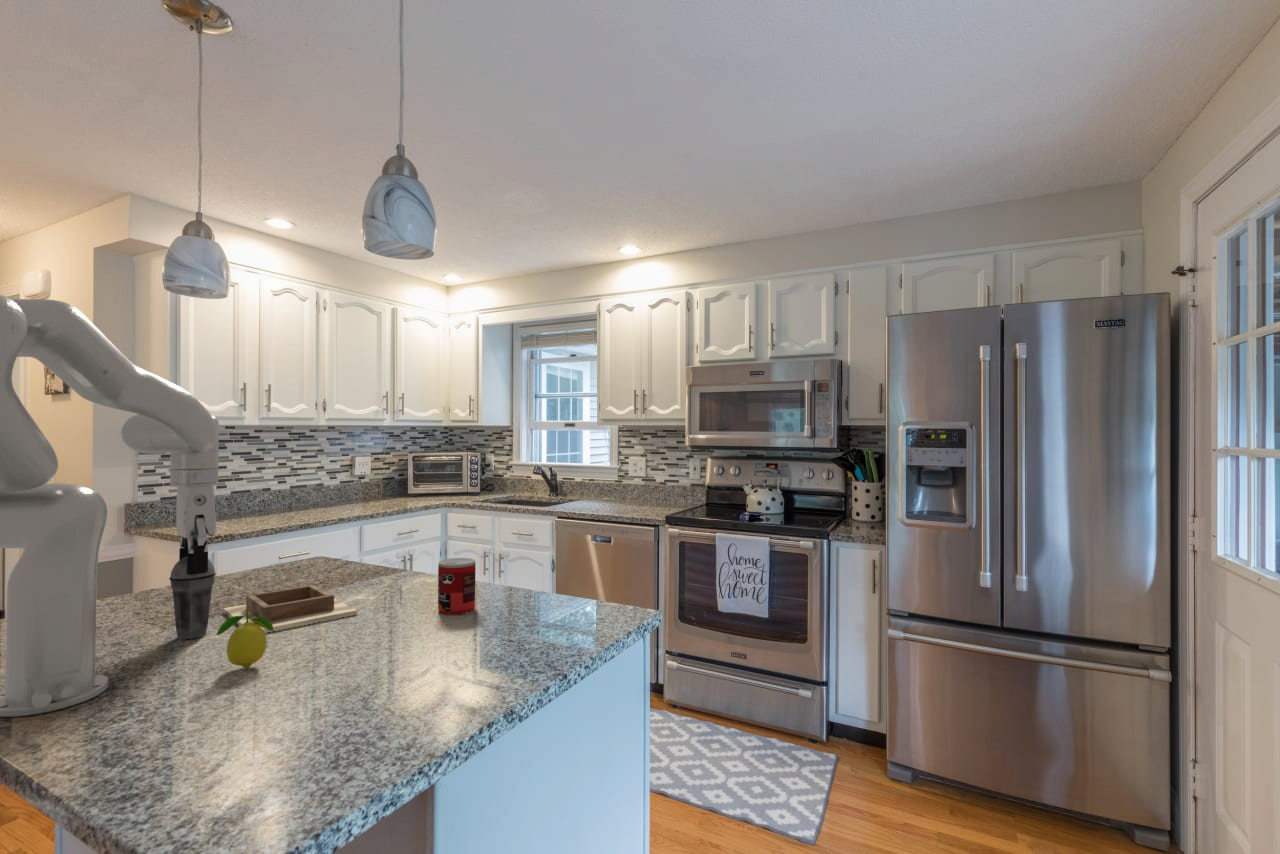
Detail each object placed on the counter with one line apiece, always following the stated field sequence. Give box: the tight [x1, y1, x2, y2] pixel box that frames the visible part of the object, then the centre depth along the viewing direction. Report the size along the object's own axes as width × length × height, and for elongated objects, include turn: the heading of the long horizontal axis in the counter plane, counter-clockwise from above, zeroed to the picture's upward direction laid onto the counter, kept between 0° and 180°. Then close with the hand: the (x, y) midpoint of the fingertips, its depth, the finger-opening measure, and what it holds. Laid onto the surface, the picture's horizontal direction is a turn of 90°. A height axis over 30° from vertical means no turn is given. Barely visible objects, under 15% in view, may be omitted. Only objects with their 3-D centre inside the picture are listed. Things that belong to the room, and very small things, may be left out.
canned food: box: [437, 557, 476, 615], centre depth 135 cm, size 8×8×11 cm
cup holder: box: [222, 584, 358, 634], centre depth 132 cm, size 22×20×4 cm
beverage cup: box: [169, 539, 217, 641], centre depth 117 cm, size 7×7×20 cm
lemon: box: [215, 608, 274, 670], centre depth 101 cm, size 7×6×10 cm
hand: (193, 569), depth 117 cm, fingers closed on beverage cup, 6 cm apart
